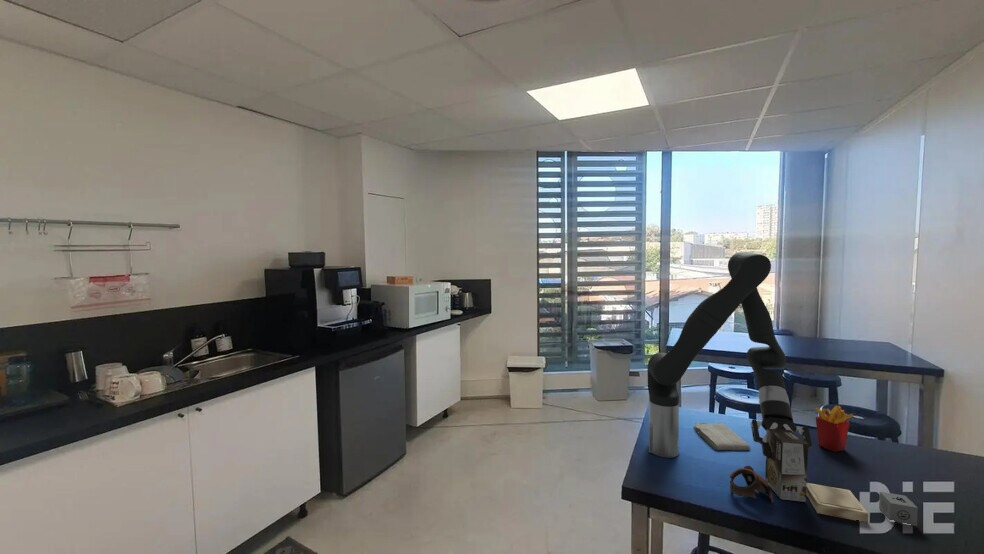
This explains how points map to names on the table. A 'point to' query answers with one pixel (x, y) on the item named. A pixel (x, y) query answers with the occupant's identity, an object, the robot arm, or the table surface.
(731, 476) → the pottery mug
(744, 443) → the washcloth
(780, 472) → the coffee box
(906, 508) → the dice cube
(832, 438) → the french fries
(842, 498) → the riser
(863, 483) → the table surface
